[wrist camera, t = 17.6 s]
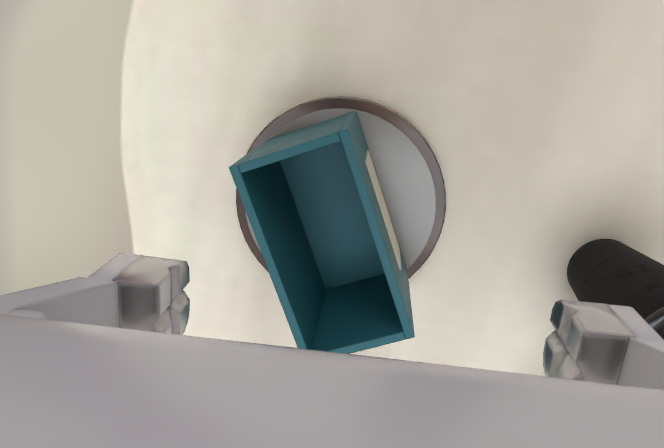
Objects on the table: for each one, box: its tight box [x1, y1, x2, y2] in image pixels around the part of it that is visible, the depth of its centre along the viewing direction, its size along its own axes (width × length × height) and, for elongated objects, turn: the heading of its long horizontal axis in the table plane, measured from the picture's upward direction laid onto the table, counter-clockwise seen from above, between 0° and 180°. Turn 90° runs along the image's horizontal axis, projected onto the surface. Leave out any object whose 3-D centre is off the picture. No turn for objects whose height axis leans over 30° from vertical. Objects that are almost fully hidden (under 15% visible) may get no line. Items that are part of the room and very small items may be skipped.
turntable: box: [236, 97, 446, 279], centre depth 40 cm, size 15×15×2 cm
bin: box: [229, 111, 414, 354], centre depth 35 cm, size 7×12×10 cm, turn 19°
